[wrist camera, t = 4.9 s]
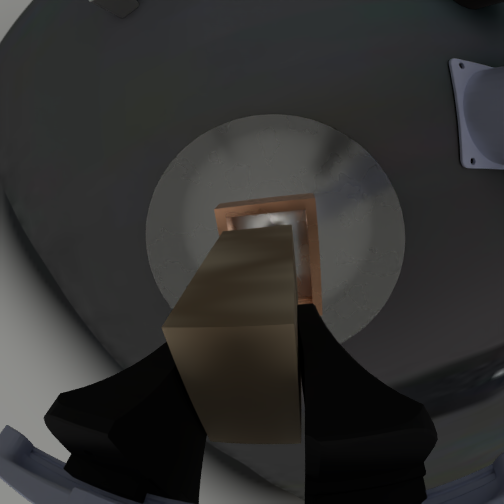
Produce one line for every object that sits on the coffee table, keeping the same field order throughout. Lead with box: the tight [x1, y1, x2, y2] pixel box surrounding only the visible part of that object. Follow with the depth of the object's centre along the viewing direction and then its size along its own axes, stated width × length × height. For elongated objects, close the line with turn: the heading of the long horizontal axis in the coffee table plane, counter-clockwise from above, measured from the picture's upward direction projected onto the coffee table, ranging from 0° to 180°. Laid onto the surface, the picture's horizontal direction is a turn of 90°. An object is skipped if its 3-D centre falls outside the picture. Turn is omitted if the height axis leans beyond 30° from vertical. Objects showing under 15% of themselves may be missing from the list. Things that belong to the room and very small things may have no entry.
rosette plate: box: [146, 114, 405, 344], centre depth 19 cm, size 18×18×2 cm
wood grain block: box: [162, 225, 301, 444], centre depth 10 cm, size 3×5×7 cm, turn 8°
